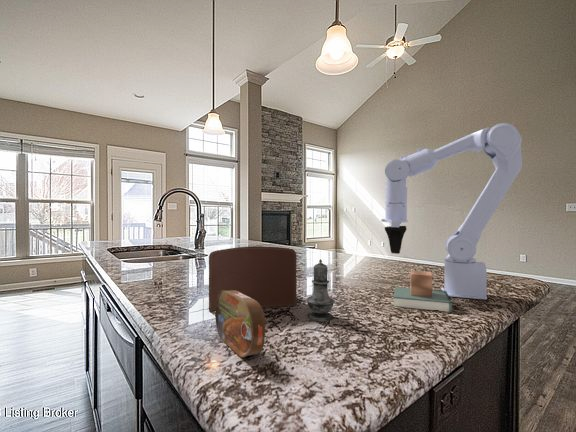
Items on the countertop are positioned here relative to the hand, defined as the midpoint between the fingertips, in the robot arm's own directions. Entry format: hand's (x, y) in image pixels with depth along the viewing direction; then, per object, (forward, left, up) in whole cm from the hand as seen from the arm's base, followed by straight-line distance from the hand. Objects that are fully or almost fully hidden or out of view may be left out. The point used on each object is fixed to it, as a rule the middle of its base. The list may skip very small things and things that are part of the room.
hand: (395, 251), depth 88 cm
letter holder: (+32, +27, -11) cm, 43 cm away
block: (-6, +13, -8) cm, 17 cm away
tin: (+23, +49, -11) cm, 55 cm away
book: (-6, +13, -11) cm, 18 cm away
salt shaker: (+14, +31, -11) cm, 36 cm away
